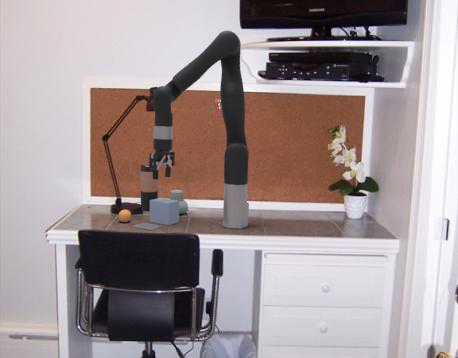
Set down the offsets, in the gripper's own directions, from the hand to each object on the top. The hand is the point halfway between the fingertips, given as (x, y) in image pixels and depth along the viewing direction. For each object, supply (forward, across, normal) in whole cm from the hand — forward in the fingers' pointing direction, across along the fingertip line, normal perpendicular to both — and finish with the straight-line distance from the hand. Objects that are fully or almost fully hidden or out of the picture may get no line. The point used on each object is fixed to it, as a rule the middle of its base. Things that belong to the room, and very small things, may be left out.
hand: (161, 178), depth 204 cm
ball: (+16, -8, +11) cm, 21 cm away
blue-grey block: (+18, +1, -1) cm, 18 cm away
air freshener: (+18, +17, +3) cm, 25 cm away
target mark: (+18, -9, -1) cm, 20 cm away
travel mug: (+18, +16, +18) cm, 30 cm away
